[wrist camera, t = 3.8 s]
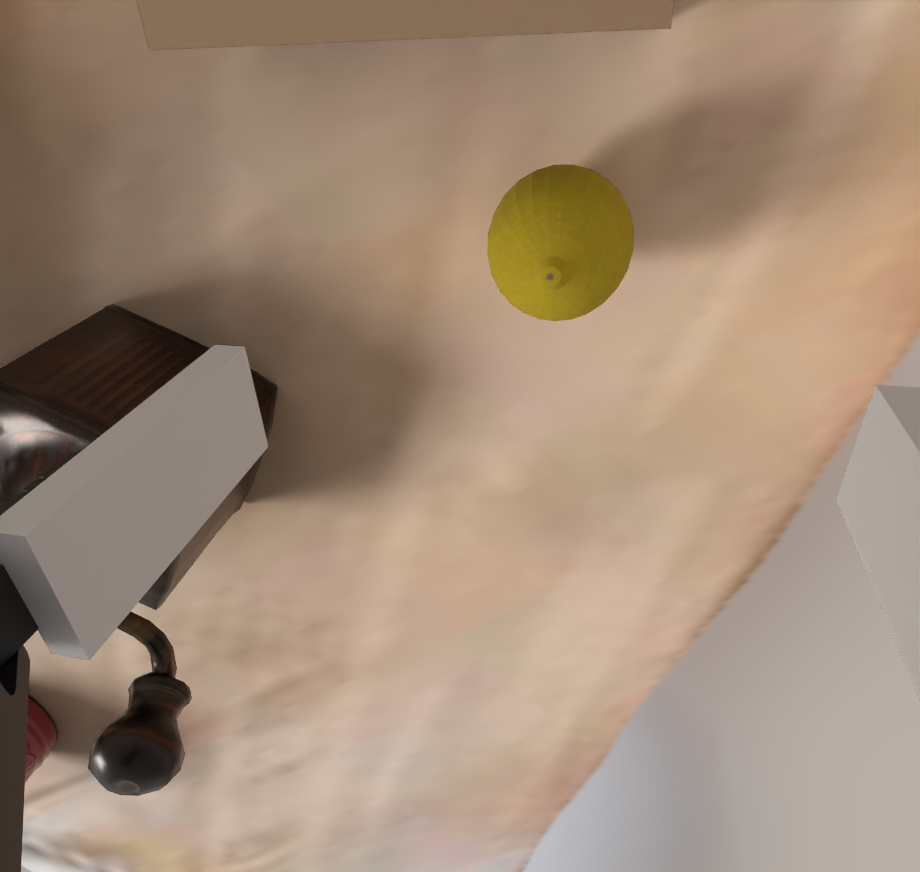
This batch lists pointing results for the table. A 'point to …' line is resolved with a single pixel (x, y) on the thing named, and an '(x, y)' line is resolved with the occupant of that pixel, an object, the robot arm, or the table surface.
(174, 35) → the plinth
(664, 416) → the table surface
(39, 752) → the canister
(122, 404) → the coffee grinder
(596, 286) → the lemon
